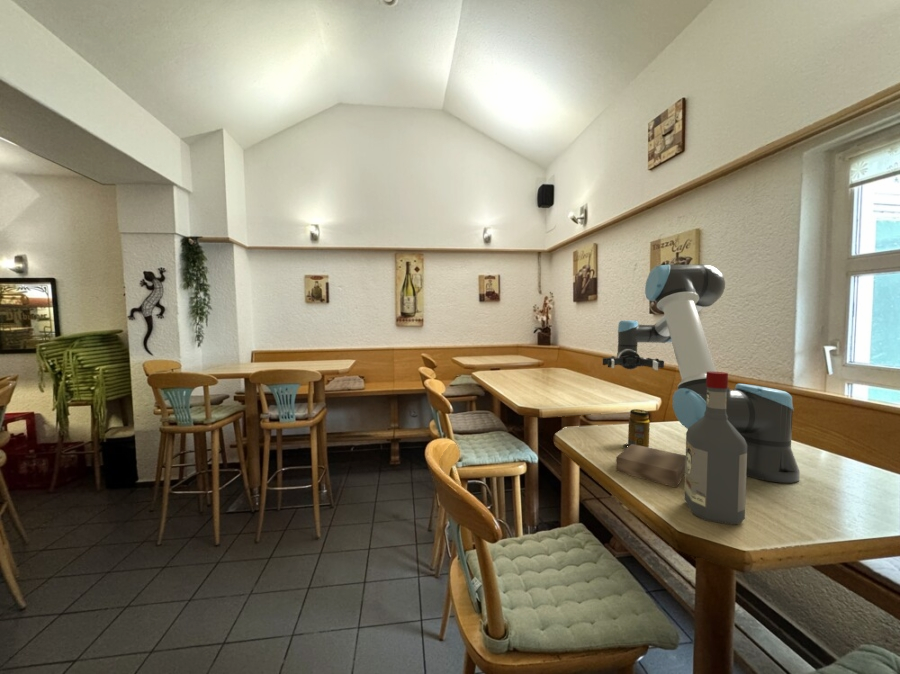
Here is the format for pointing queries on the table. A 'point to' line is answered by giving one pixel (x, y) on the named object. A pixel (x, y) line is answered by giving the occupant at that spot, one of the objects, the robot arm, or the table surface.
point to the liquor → (716, 460)
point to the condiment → (638, 429)
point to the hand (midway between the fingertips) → (634, 365)
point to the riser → (652, 464)
